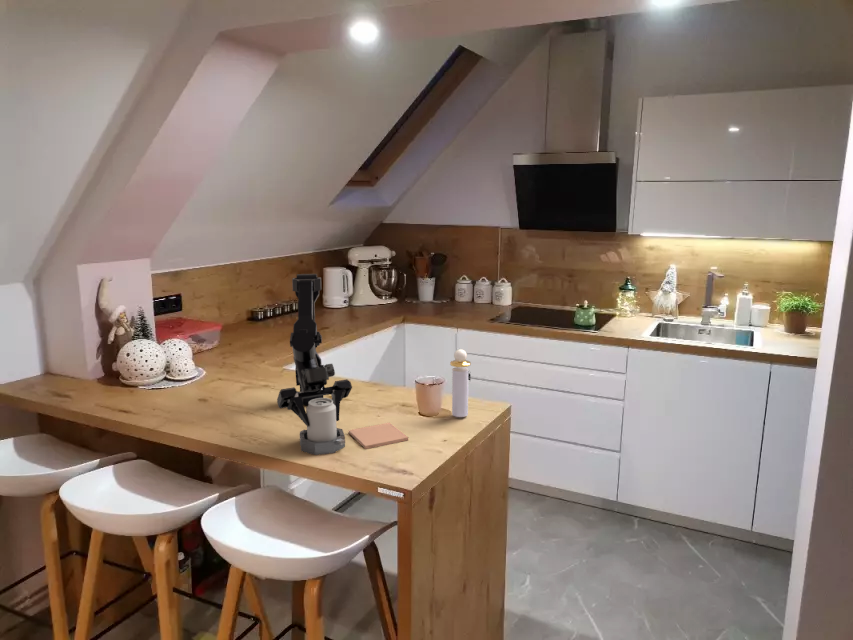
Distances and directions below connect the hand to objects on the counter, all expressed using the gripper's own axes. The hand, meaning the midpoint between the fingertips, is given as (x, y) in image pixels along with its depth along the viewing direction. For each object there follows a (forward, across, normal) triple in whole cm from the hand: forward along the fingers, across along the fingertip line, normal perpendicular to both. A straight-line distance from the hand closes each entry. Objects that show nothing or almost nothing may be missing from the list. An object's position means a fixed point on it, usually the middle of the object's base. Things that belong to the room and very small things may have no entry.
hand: (323, 423), depth 163 cm
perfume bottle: (+3, +42, +7) cm, 42 cm away
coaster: (+5, +15, +5) cm, 16 cm away
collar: (+4, 0, +6) cm, 7 cm away
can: (+4, 0, +6) cm, 7 cm away
